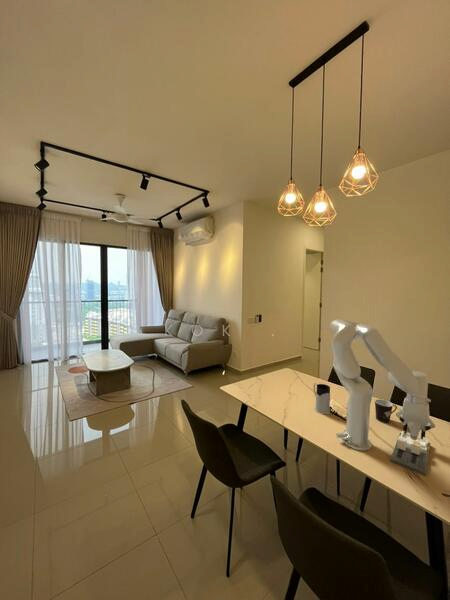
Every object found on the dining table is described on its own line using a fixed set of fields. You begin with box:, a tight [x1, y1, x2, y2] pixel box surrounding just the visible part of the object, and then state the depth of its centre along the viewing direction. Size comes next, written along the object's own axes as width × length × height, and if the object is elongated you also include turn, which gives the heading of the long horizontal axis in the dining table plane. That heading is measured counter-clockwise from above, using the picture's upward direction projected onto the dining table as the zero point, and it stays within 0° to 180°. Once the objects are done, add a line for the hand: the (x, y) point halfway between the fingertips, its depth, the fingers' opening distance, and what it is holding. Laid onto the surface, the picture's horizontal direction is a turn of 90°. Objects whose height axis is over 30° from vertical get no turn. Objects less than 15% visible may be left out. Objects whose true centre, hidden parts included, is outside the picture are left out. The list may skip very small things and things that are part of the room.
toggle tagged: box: [411, 440, 421, 455], centre depth 113 cm, size 4×3×4 cm
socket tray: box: [400, 430, 429, 453], centre depth 120 cm, size 10×10×2 cm
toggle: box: [397, 435, 407, 451], centre depth 116 cm, size 4×3×4 cm
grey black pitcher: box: [313, 382, 331, 415], centre depth 154 cm, size 9×14×15 cm, turn 12°
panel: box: [389, 432, 431, 477], centre depth 114 cm, size 26×12×1 cm, turn 138°
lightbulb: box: [407, 421, 422, 440], centre depth 119 cm, size 6×6×11 cm
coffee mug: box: [374, 398, 398, 424], centre depth 141 cm, size 12×9×10 cm
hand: (413, 434), depth 120 cm, fingers closed on lightbulb, 5 cm apart
